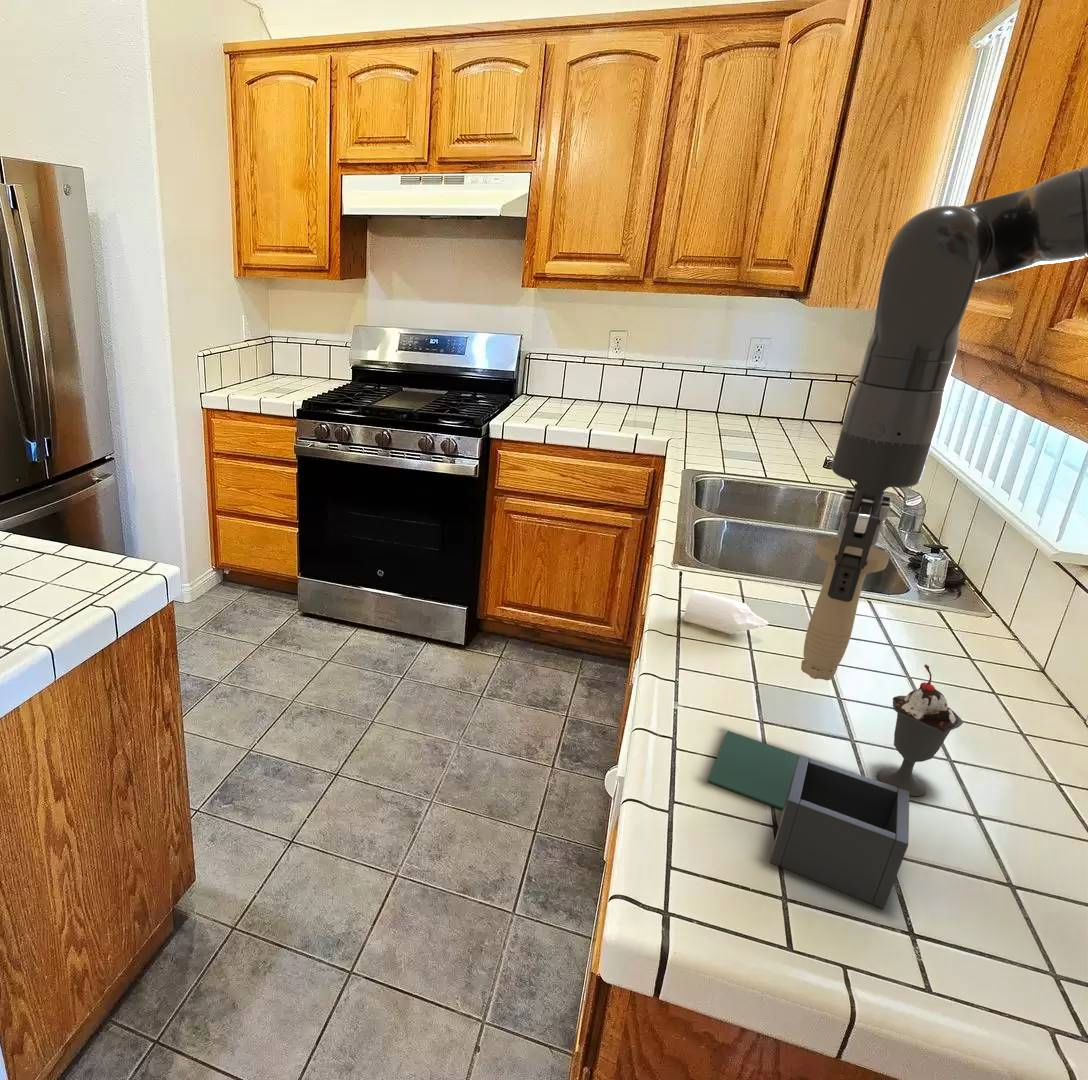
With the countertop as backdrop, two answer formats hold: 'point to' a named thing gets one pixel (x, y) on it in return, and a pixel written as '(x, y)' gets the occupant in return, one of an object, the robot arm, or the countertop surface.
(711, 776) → the mat
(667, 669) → the countertop surface
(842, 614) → the handle
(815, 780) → the grey box
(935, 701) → the sundae
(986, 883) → the countertop surface
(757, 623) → the white tapered piece
